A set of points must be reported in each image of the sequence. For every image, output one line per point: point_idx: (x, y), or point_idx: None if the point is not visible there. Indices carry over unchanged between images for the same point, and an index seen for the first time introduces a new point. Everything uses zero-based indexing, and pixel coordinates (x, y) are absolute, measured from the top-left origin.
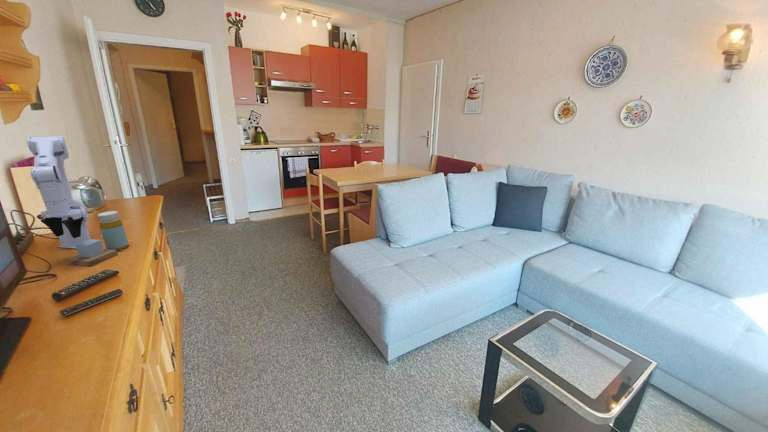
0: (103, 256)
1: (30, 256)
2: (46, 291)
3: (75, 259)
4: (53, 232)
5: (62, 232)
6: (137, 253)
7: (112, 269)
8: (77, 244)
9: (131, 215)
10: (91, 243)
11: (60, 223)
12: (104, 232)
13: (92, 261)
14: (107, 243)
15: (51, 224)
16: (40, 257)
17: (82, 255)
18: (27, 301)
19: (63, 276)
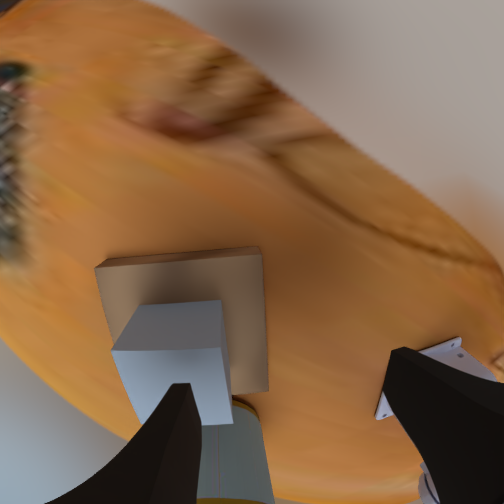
0: (114, 337)
1: (483, 254)
2: (60, 57)
3: (203, 268)
4: (430, 364)
5: (392, 401)
6: (84, 395)
7: (12, 266)
8: (203, 351)
9: (418, 482)
10: (122, 381)
11: (434, 467)
12: (204, 478)
13: (100, 282)
14: (209, 425)
15: (478, 428)
16: (454, 259)
17: (194, 307)
18: (62, 13)
19: (119, 143)
